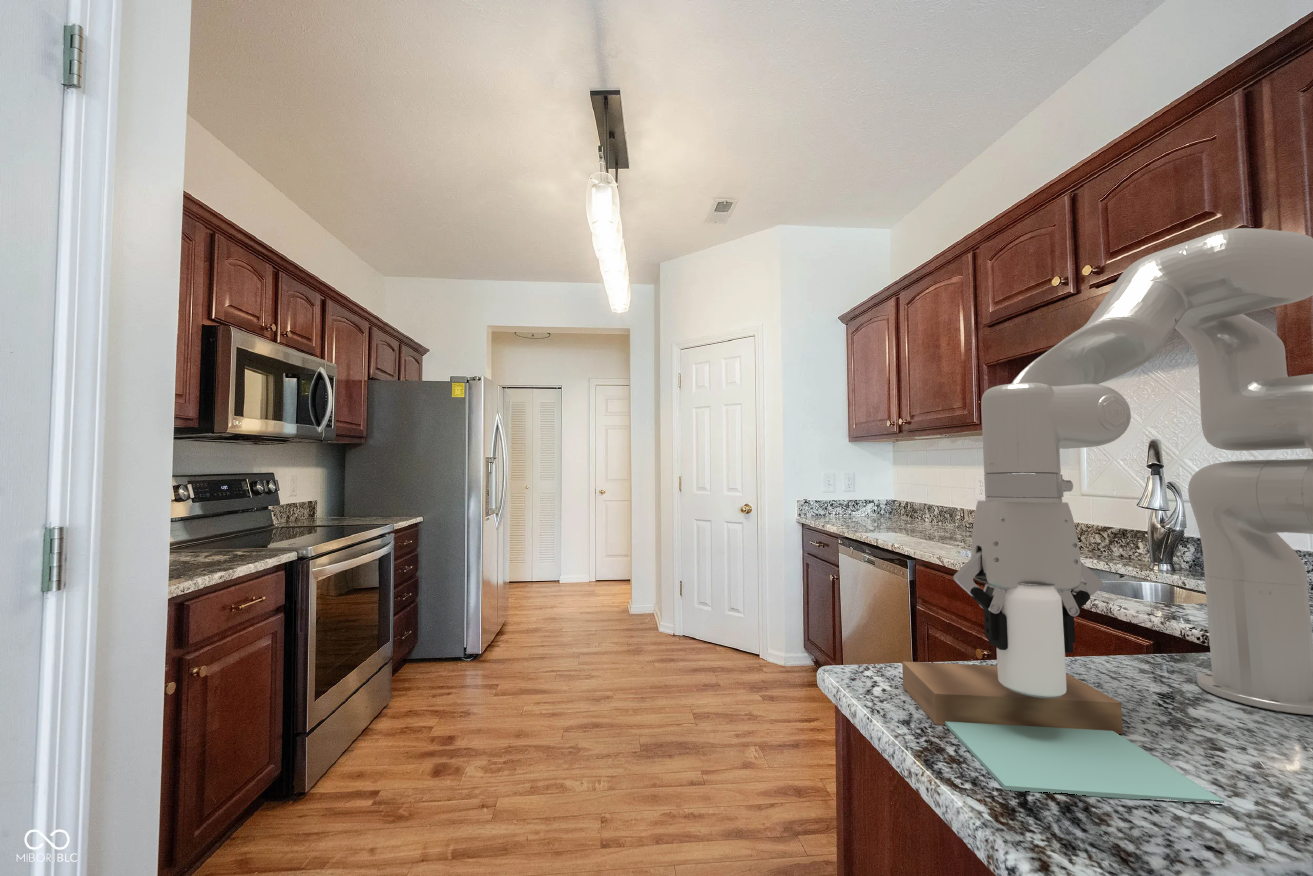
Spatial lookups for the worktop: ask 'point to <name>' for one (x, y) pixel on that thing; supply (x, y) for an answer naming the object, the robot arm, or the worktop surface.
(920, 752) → the worktop surface
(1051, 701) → the board
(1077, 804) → the worktop surface
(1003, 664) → the can
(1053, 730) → the mat
